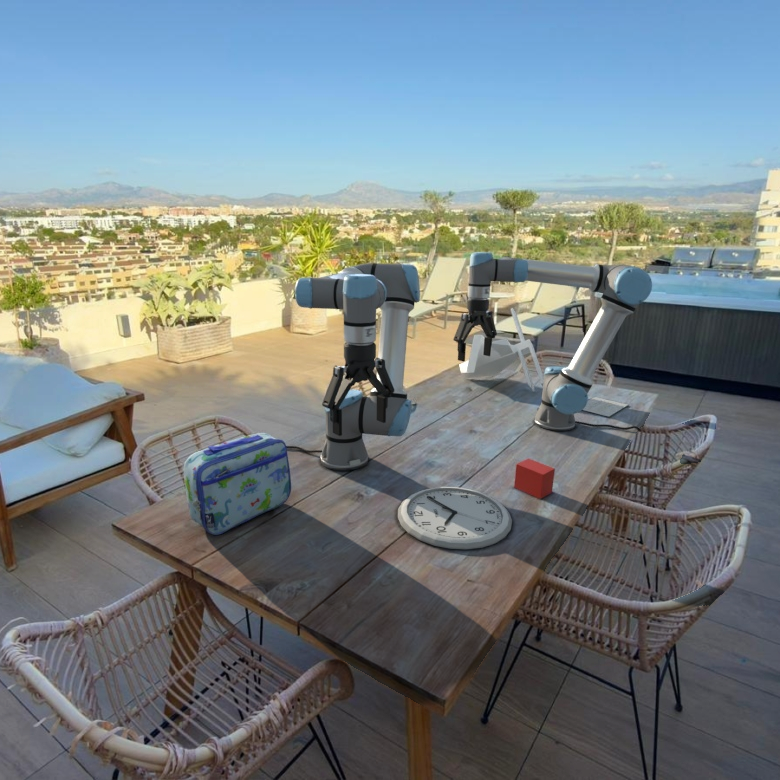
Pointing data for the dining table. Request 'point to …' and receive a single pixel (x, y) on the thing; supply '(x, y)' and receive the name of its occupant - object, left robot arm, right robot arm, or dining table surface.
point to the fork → (414, 401)
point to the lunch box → (236, 481)
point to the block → (534, 478)
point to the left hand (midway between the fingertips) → (359, 427)
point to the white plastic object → (500, 356)
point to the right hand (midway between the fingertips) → (474, 358)
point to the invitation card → (603, 406)
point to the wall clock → (454, 518)
